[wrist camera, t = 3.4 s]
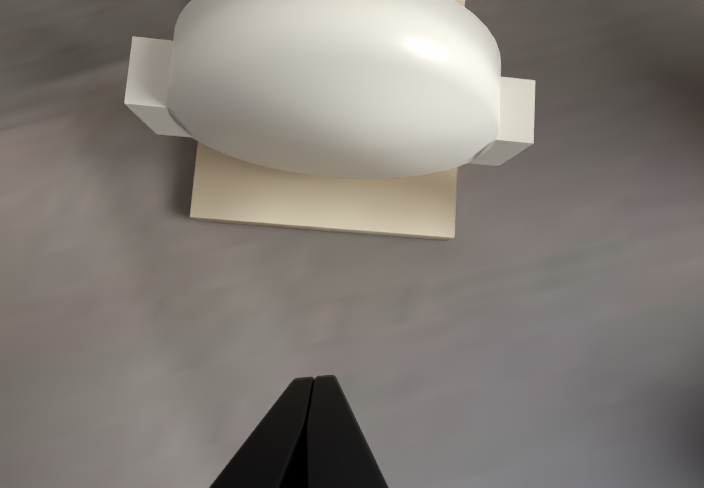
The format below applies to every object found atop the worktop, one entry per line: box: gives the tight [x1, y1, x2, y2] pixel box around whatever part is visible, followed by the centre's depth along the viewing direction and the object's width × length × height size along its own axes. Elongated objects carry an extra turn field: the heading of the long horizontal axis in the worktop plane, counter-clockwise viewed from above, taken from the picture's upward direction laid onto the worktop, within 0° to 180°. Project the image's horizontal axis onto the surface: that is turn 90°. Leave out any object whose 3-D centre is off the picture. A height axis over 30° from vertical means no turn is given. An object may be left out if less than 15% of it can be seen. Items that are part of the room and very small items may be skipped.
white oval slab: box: [124, 0, 535, 179], centre depth 11 cm, size 2×10×8 cm, turn 86°
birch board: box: [190, 0, 465, 240], centre depth 17 cm, size 17×10×2 cm, turn 176°
